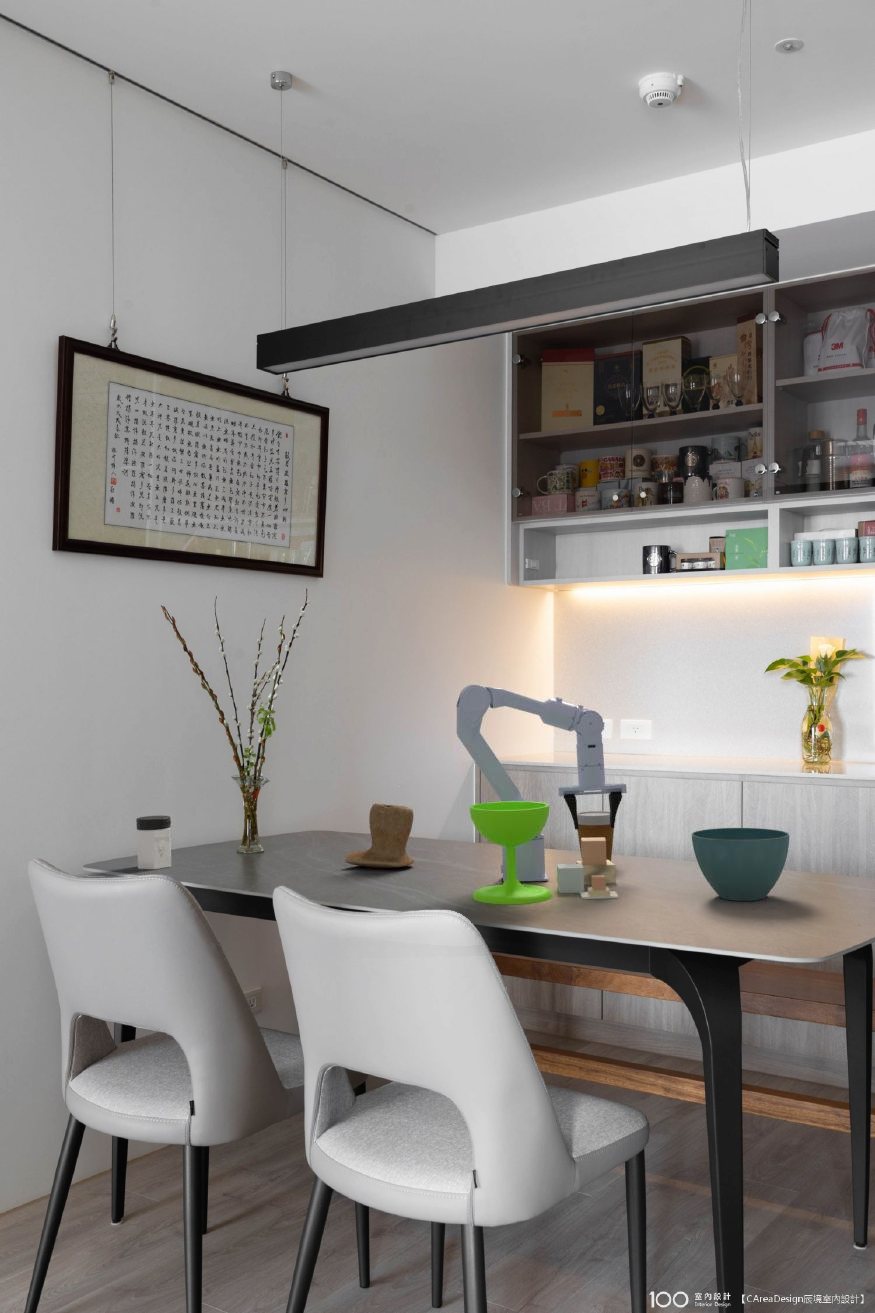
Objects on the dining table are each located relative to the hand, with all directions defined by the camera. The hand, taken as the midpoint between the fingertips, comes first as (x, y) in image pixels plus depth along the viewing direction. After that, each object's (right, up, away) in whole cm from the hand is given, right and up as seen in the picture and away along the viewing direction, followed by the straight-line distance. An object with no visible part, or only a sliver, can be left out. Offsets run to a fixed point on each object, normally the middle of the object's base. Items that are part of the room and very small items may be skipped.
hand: (594, 828), depth 247 cm
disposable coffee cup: (+2, -11, +13) cm, 17 cm away
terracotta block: (-1, -7, -5) cm, 8 cm away
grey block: (-7, -11, -15) cm, 20 cm away
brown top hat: (-46, -13, +22) cm, 53 cm away
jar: (-103, -14, +32) cm, 109 cm away
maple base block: (0, -11, -5) cm, 12 cm away
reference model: (-2, -10, -22) cm, 24 cm away
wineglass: (-19, -11, -19) cm, 29 cm away
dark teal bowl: (+25, -9, -27) cm, 38 cm away
